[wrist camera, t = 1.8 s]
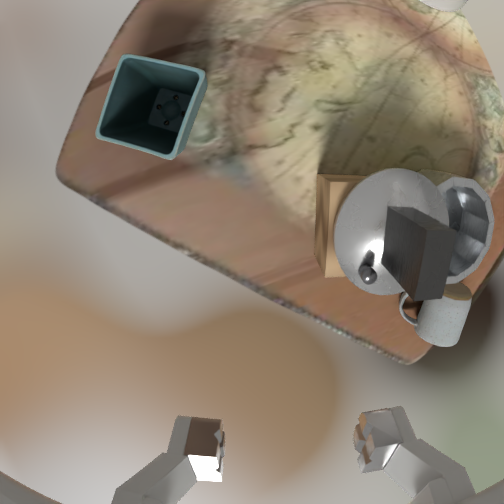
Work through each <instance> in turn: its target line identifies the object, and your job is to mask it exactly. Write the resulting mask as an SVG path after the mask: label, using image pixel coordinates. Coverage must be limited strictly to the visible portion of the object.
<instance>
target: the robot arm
mask: <svg viewBox="0 0 504 504" xmlns="http://www.w3.org/2000/svg"><path fill="white" fill-rule="evenodd" d="M419 1H421V2H423V3H424V4H426V5H428V6H430V7H432V8H435V9H438V10H441V11H446V12H454V11H457V10H459V9H461V8H462V7H463V5H464V4H465V3H466V2H467V1H468V0H419ZM358 420H359V424H358V425H356V427H355V430H354V434H353V441H354V447H355V450H357V451H358V452H359V453H360V455H359V457H358V463H359V468H360V471H361V473H366V472H372V471H377V470H383V471H384V472H385V473H386V474H387V475H388V476H389V477H390V478H391V479H392V480H393V481H394V482H395V483H396V484H398V485H399V486H400V487H401V488H402V489H403V490H404V491H405V492H406V493H408V494H409V495H410V496H411V497H412V498H413V499H412V500H411V501H410V502H409V503H408V504H504V479H503V480H501V481H499V482H497V483H496V484H494V485H492V486H490V487H488V488H486V489H485V490H483V491H481V492H479V493H477V494H476V493H475V491H474V488H473V486H472V483H471V481H470V479H469V476H468V474H467V472H466V470H465V467H463V466H462V465H460V464H459V463H457V462H455V461H454V460H452V459H451V458H449V457H448V456H446V455H444V454H443V453H441V452H440V451H438V450H437V449H435V448H434V447H432V446H431V445H429V444H428V443H426V442H425V441H423V440H422V439H417V438H416V436H415V434H414V431H413V429H412V427H411V424H410V422H409V420H408V418H407V415H406V413H405V411H404V409H403V407H401V406H398V407H393V408H388V409H387V408H385V409H380V410H374V411H369V412H362V413H361V414H360V416H359V418H358ZM224 455H225V433H224V431H223V420H222V419H208V418H198V417H189V416H177V418H176V420H175V423H174V427H173V431H172V435H171V439H170V442H169V446H168V450H167V453H162V454H160V455H159V456H158V457H157V458H155V459H154V460H153V461H152V462H150V463H149V464H148V465H147V466H145V467H144V468H143V469H142V470H140V471H139V472H138V473H137V474H135V475H134V476H133V477H132V478H130V479H129V480H128V481H126V482H125V483H124V484H122V485H121V486H119V487H118V488H117V489H116V491H115V494H114V497H113V500H112V503H111V504H176V503H177V502H178V501H179V500H180V499H181V498H182V497H183V496H184V495H185V494H186V493H187V492H188V491H189V490H190V488H191V487H192V486H193V485H194V484H195V483H196V482H197V480H209V481H222V475H223V474H222V473H223V461H222V457H224ZM0 504H62V503H59V502H57V501H55V500H53V499H51V498H48V497H46V496H44V495H42V494H40V493H38V492H36V491H34V490H32V489H30V488H29V487H27V486H25V485H23V484H21V483H20V482H18V481H16V480H14V479H13V478H11V477H9V476H7V475H6V474H4V473H3V472H1V471H0Z"/></svg>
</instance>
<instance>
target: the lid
mask: <svg viewBox="0 0 504 504" xmlns="http://www.w3.org/2000/svg"><path fill="white" fill-rule="evenodd" d="M455 237H456V230H454V229H452V228H450V227H449V216H448V210H447V206H446V203H445V201H444V198H443V196H442V194H441V193H440V191H439V190H438V188H437V187H436V186H435V185H434V184H433V183H432V182H431V181H430V180H429V179H428V178H426V177H425V176H423V175H422V174H420V173H418V172H415V171H412V170H408V169H403V168H387V169H382V170H379V171H376V172H374V173H372V174H370V175H368V176H366V177H365V178H363V179H362V180H360V181H359V182H358V183H357V184H356V185H355V186H354V187H353V188H352V189H351V190H350V191H349V192H348V194H347V195H346V197H345V198H344V200H343V202H342V203H341V205H340V207H339V210H338V212H337V215H336V219H335V223H334V229H333V246H334V252H335V255H336V258H337V261H338V263H339V265H340V267H341V269H342V270H343V272H344V274H345V275H346V276H347V278H348V279H349V280H350V281H351V282H352V283H353V284H354V285H356V286H357V287H359V288H360V289H362V290H364V291H366V292H369V293H373V294H378V295H391V294H397V293H401V292H404V291H406V293H407V294H408V295H409V296H410V297H411V299H412V300H413V301H422V300H433V299H442V296H443V293H444V289H445V285H446V281H447V276H448V272H449V268H450V263H451V258H452V253H453V248H454V243H455Z"/></svg>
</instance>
